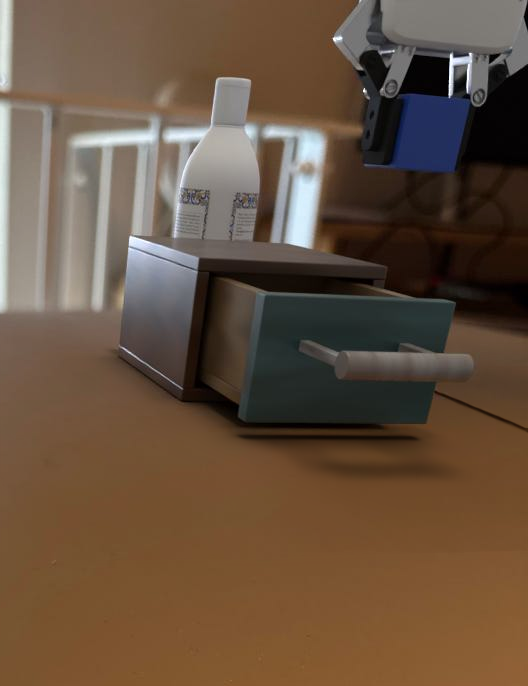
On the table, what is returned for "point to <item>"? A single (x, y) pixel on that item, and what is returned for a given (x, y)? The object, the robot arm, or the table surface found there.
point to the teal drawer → (325, 349)
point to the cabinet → (202, 298)
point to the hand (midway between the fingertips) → (409, 164)
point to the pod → (428, 133)
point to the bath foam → (221, 173)
